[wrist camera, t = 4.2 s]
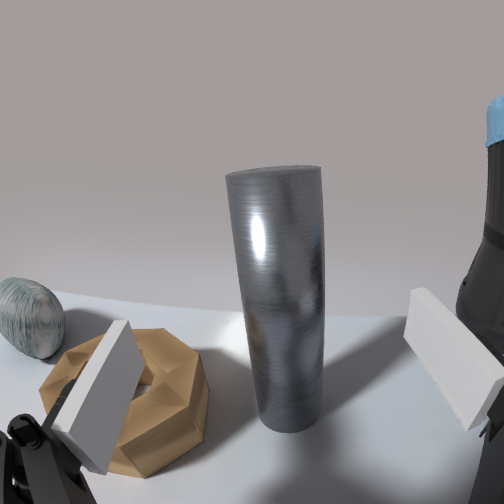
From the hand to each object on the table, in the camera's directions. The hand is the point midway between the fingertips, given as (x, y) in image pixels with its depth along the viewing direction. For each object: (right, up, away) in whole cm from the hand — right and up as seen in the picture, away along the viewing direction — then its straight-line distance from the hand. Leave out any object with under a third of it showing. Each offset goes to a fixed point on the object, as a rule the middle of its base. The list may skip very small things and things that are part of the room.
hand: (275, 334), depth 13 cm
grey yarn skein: (-27, -8, +15) cm, 32 cm away
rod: (+2, -8, +6) cm, 10 cm away
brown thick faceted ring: (-10, -9, +7) cm, 15 cm away
